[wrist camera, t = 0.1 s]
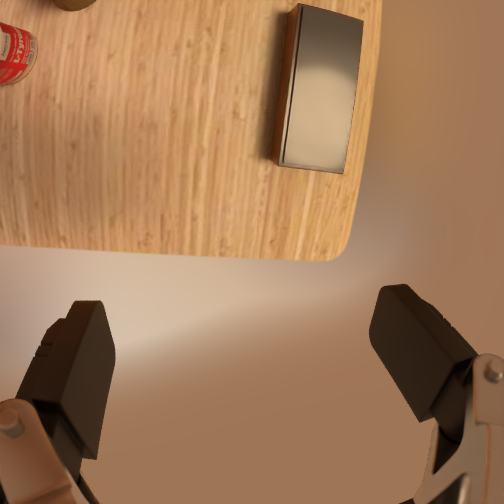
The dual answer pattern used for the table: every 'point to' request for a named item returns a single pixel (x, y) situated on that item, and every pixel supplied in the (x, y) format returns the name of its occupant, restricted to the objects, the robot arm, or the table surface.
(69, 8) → the olive chess piece
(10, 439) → the robot arm
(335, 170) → the edge stand
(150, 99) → the table surface
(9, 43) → the pill bottle
